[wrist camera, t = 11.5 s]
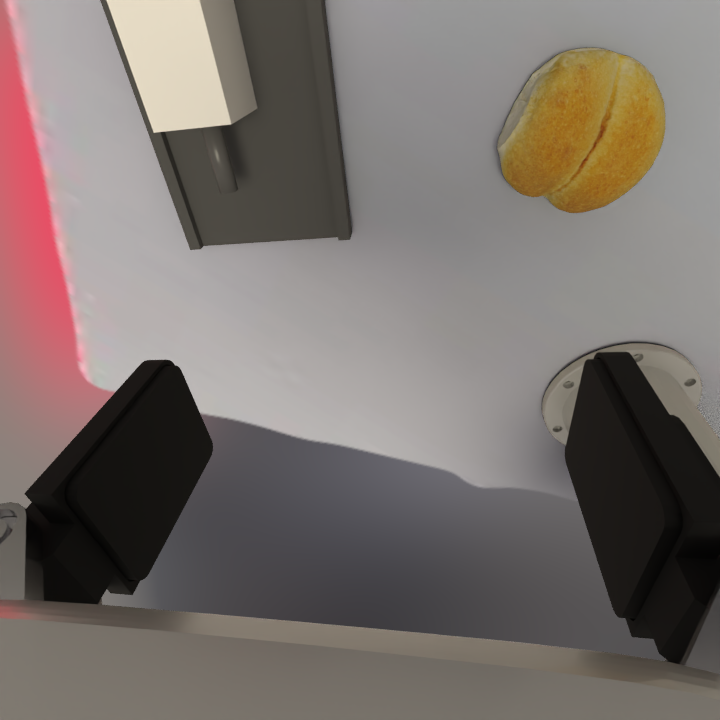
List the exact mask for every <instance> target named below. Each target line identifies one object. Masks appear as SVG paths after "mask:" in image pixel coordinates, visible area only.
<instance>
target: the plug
mask: <svg viewBox="0 0 720 720" xmlns="http://www.w3.org/2000/svg"><path fill="white" fill-rule="evenodd" d="M107 3H108V6H109V9H110V12H111V14H112V17H113V20H114V23H115V26H116V28H117V31H118V34H119V37H120V40H121V42H122V45H123V48H124V51H125V54H126V56H127V59H128V62H129V65H130V68H131V70H132V73H133V76H134V79H135V82H136V84H137V87H138V90H139V93H140V96H141V98H142V101H143V104H144V107H145V110H146V112H147V115H148V118H149V121H150V124H151V126H152V129H153V132H154V133H156V132H166V131H175V130H184V129H193V128H200V129H201V132H202V135H203V139H204V142H205V145H206V149H207V152H208V155H209V159H210V162H211V166H212V169H213V172H214V176H215V179H216V182H217V186H218V189H219V193H221V194H228V193H233V192H236V191H237V190H238V185H237V181H236V178H235V174H234V170H233V166H232V163H231V159H230V155H229V152H228V148H227V144H226V140H225V137H224V133H223V129H222V126H221V125H230V124H233V123H235V122H236V121H238V120H239V119H241V118H243V117H244V116H246V115H248V114H249V113H251V112H252V111H254V110H256V109H257V104H256V100H255V95H254V91H253V86H252V81H251V77H250V72H249V68H248V63H247V59H246V54H245V50H244V45H243V40H242V36H241V31H240V27H239V22H238V18H237V13H236V9H235V4H234V0H107Z"/></svg>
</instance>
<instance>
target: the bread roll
mask: <svg viewBox="0 0 720 720" xmlns="http://www.w3.org/2000/svg"><path fill="white" fill-rule="evenodd" d="M664 133H665V109H664V101H663V98H662V95H661V93H660V90H659V88H658V86H657V84H656V82H655V79H654V77H653V75H652V74H651V73H650V72H649V71H648V69H647V68H646V67H645V66H643V65H642V64H641V63H639V62H638V61H636V60H635V59H633V58H631V57H629V56H625V55H621V54H618V53H616V52H613V51H610V50H605V49H600V48H579V49H575V50H570V51H566V52H562V53H560V54H558V55H556V56H555V57H554V58H552V59H551V60H549V61H548V62H547V63H546V64H544V65H543V66H542V67H541V68H540V69H539V70H537V71H536V72H534V73H533V74H532V76H531V77H530V79H529V80H528V82H527V83H526V85H525V86H524V88H523V90H522V92H521V93H520V95H519V96H518V98H517V99H516V101H515V103H514V105H513V107H512V109H511V112H510V114H509V116H508V118H507V121H506V123H505V126H504V128H503V129H502V132H501V134H500V136H499V140H498V146H497V149H498V153H499V156H500V160H501V168H502V173H503V176H504V178H505V179H506V181H507V182H508V183H509V184H510V185H511V186H512V187H513V188H514V189H515V190H516V191H518V192H519V193H521V194H523V195H527V196H531V197H539V196H544V197H546V198H547V199H548V200H549V201H550V202H551V203H552V204H553V205H554V206H555V207H556V208H558V209H560V210H563V211H566V212H569V213H580V212H586V211H590V210H594V209H597V208H600V207H603V206H606V205H607V204H609V203H611V202H613V201H614V200H616V199H618V198H619V197H620V196H622V195H623V194H625V193H626V192H627V191H629V190H630V189H631V188H632V187H633V186H635V185H636V184H637V183H638V182H639V181H640V180H641V179H642V177H643V176H644V175H645V174H646V173H647V171H648V170H649V169H650V168H651V166H652V165H653V163H654V161H655V159H656V157H657V155H658V153H659V151H660V148H661V146H662V142H663V139H664Z"/></svg>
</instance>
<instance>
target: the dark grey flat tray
mask: <svg viewBox="0 0 720 720" xmlns="http://www.w3.org/2000/svg"><path fill="white" fill-rule="evenodd" d="M100 1H101V3H102V6H103V9H104V12H105V14H106V17H107V20H108V23H109V25H110V28H111V31H112V34H113V37H114V39H115V42H116V45H117V48H118V50H119V53H120V56H121V59H122V62H123V64H124V67H125V70H126V73H127V75H128V78H129V81H130V84H131V86H132V89H133V92H134V95H135V98H136V100H137V103H138V106H139V109H140V111H141V114H142V117H143V120H144V122H145V125H146V128H147V131H148V134H149V136H150V139H151V142H152V145H153V147H154V150H155V153H156V156H157V158H158V161H159V164H160V167H161V170H162V172H163V175H164V178H165V181H166V183H167V186H168V189H169V192H170V195H171V197H172V200H173V203H174V206H175V208H176V211H177V214H178V217H179V219H180V222H181V225H182V228H183V231H184V233H185V236H186V239H187V242H188V244H189V247H190V250H195V249H201V248H202V247H203V246H208V245H224V244H239V243H254V242H270V241H285V240H300V239H316V238H331V237H338V239H339V240H350V237H351V234H352V228H351V220H350V211H349V203H348V195H347V186H346V178H345V169H344V161H343V152H342V144H341V136H340V127H339V119H338V110H337V102H336V94H335V85H334V77H333V68H332V60H331V51H330V43H329V35H328V26H327V18H326V9H325V1H324V0H234V4H235V9H236V13H237V18H238V22H239V27H240V31H241V36H242V40H243V45H244V50H245V54H246V59H247V63H248V68H249V72H250V77H251V81H252V86H253V91H254V95H255V100H256V104H257V109H256V110H254V111H252V112H251V113H249V114H248V115H246V116H244V117H243V118H241V119H239V120H238V121H236V122H235V123H233V124H230V125H221V126H222V129H223V133H224V137H225V140H226V144H227V148H228V152H229V155H230V159H231V163H232V166H233V170H234V174H235V178H236V181H237V185H238V190H237V191H236V192H233V193H228V194H221V193H219V189H218V186H217V182H216V179H215V176H214V172H213V169H212V166H211V162H210V159H209V155H208V152H207V149H206V145H205V142H204V139H203V135H202V132H201V129H200V128H193V129H184V130H175V131H166V132H156V133H154V132H153V129H152V126H151V124H150V121H149V118H148V115H147V112H146V110H145V107H144V104H143V101H142V98H141V96H140V93H139V90H138V87H137V84H136V82H135V79H134V76H133V73H132V70H131V68H130V65H129V62H128V59H127V56H126V54H125V51H124V48H123V45H122V42H121V40H120V37H119V34H118V31H117V28H116V26H115V23H114V20H113V17H112V14H111V12H110V9H109V6H108V3H107V0H100Z"/></svg>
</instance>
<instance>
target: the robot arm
mask: <svg viewBox="0 0 720 720" xmlns="http://www.w3.org/2000/svg"><path fill="white" fill-rule="evenodd" d="M701 394H702V383H701V379H700V376H699V374H698V372H697V371H696V369H695V368H694V367H693V365H692V364H691V363H690V362H689V361H688V360H687V359H686V358H685V357H684V356H683V355H681V354H680V353H678V352H676V351H675V350H672V349H669V348H667V347H664V346H660V345H653V344H642V343H631V344H624V345H616V346H612V347H608V348H605V349H601V350H598V351H596V352H593V353H591V354H588V355H586V356H584V357H582V358H580V359H579V360H577V361H575V362H574V363H572V364H570V365H569V366H568V367H567V368H565V369H564V370H563V371H562V372H560V373H559V375H558V376H557V377H556V378H555V379H554V380H553V381H552V382H551V384H550V386H549V387H548V389H547V390H546V392H545V395H544V398H543V401H542V414H543V418H544V421H545V424H546V426H547V429H548V430H549V432H550V433H551V434H552V436H553V437H554V438H555V439H557V440H558V441H559V442H560V443H562V444H564V445H566V447H565V459H566V464H567V467H568V471H569V474H570V477H571V480H572V483H573V486H574V489H575V492H576V495H577V498H578V502H579V505H580V508H581V511H582V514H583V517H584V520H585V523H586V526H587V530H588V532H589V536H590V539H591V542H592V545H593V548H594V551H595V554H596V557H597V561H598V564H599V567H600V570H601V573H602V576H603V579H604V582H605V585H606V588H607V592H608V595H609V598H610V601H611V604H612V607H613V610H614V611H615V614H616V615H617V616H618V617H620V618H626V621H627V624H628V627H629V630H630V633H631V636H632V637H638V638H650V639H654V641H655V644H656V646H657V649H658V652H659V654H661V655H662V656H663V657H664V658H666V659H665V661H660V660H653V659H647V658H641V657H635V656H628V655H622V654H616V653H608V652H599V651H590V650H581V649H572V648H563V647H555V646H546V645H537V644H528V643H518V642H510V641H499V640H489V639H478V638H468V637H457V636H445V635H435V634H425V633H414V632H404V631H393V630H383V629H372V628H361V627H350V626H339V625H327V624H317V623H306V622H295V621H283V620H272V619H260V618H250V617H239V616H227V615H216V614H204V613H192V612H180V611H169V610H156V609H145V608H133V607H121V606H109V605H102V599H101V597H102V596H103V594H104V592H105V591H106V589H108V590H109V592H110V593H115V594H128V595H133V593H134V591H135V589H136V587H137V585H138V583H139V582H140V580H143V579H145V578H146V577H147V575H148V574H149V572H150V570H151V569H152V567H153V565H154V563H155V561H156V559H157V557H158V555H159V553H160V552H161V550H162V548H163V546H164V544H165V542H166V540H167V538H168V537H169V535H170V533H171V531H172V529H173V527H174V525H175V523H176V521H177V520H178V518H179V516H180V514H181V512H182V510H183V508H184V506H185V504H186V503H187V501H188V499H189V496H190V495H191V493H192V491H193V489H194V487H195V486H196V484H197V482H198V480H199V478H200V476H201V474H202V472H203V470H204V469H205V467H206V465H207V463H208V461H209V459H210V457H211V455H212V451H213V443H212V440H211V438H210V436H209V433H208V431H207V429H206V426H205V424H204V422H203V420H202V417H201V415H200V413H199V410H198V408H197V406H196V403H195V401H194V399H193V396H192V394H191V392H190V390H189V387H188V385H187V383H186V380H185V378H184V376H183V373H182V371H181V369H180V368H179V367H178V366H175V365H174V363H173V362H172V361H170V360H147V361H144V362H143V363H141V365H140V366H139V367H138V368H137V369H136V370H135V371H134V372H133V373H132V375H131V376H130V377H129V378H128V379H127V380H126V381H125V382H124V383H123V385H122V386H121V387H120V388H119V389H118V390H117V391H116V392H115V393H114V395H113V396H112V397H111V398H110V399H109V400H108V401H107V402H106V404H105V405H104V406H103V407H102V408H101V409H100V410H99V411H98V412H97V414H96V415H95V416H94V417H93V418H92V419H91V420H90V421H89V422H88V424H87V425H86V426H85V427H84V428H83V429H82V430H81V432H79V434H78V435H77V436H76V437H75V438H74V439H73V440H72V441H71V442H70V444H69V445H68V446H67V447H66V448H65V449H64V450H63V451H62V452H61V454H60V455H59V456H58V457H57V458H56V459H55V460H54V461H53V462H52V464H51V465H50V466H49V467H48V468H47V469H46V470H45V471H44V472H43V474H42V475H41V476H40V477H39V478H38V479H37V480H36V481H35V482H34V484H33V485H32V486H31V487H30V488H29V489H28V490H27V491H26V493H25V495H26V496H27V497H28V498H29V499H30V501H31V502H32V503H31V504H30V505H29V506H28V508H27V509H25V508H24V507H23V506H21V505H20V504H19V503H12V502H9V503H2V504H0V720H720V439H719V437H718V436H717V435H716V433H715V432H714V431H713V429H712V428H711V427H710V425H709V424H708V422H707V421H706V420H705V418H704V417H703V416H702V414H701V413H700V411H699V410H698V409H697V406H698V403H699V401H700V398H701Z"/></svg>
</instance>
